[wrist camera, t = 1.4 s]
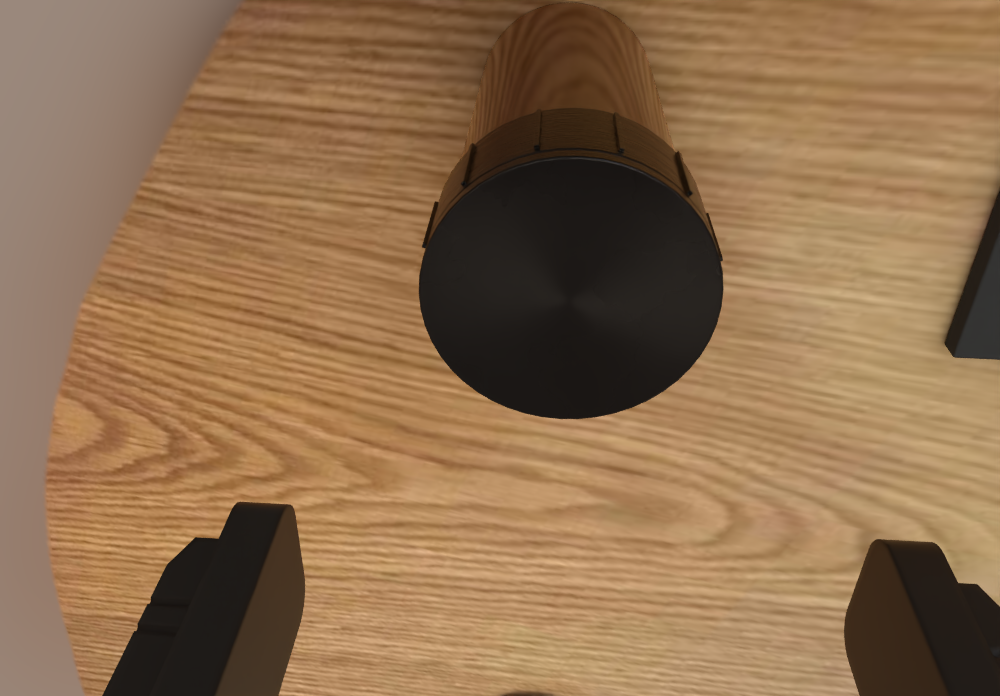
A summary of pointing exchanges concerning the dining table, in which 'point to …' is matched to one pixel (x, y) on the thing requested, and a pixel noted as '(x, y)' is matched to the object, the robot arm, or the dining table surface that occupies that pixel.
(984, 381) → the dining table surface
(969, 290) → the mat
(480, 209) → the jar lid
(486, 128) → the coffee jar
